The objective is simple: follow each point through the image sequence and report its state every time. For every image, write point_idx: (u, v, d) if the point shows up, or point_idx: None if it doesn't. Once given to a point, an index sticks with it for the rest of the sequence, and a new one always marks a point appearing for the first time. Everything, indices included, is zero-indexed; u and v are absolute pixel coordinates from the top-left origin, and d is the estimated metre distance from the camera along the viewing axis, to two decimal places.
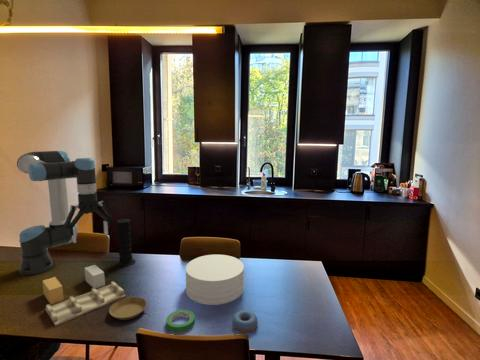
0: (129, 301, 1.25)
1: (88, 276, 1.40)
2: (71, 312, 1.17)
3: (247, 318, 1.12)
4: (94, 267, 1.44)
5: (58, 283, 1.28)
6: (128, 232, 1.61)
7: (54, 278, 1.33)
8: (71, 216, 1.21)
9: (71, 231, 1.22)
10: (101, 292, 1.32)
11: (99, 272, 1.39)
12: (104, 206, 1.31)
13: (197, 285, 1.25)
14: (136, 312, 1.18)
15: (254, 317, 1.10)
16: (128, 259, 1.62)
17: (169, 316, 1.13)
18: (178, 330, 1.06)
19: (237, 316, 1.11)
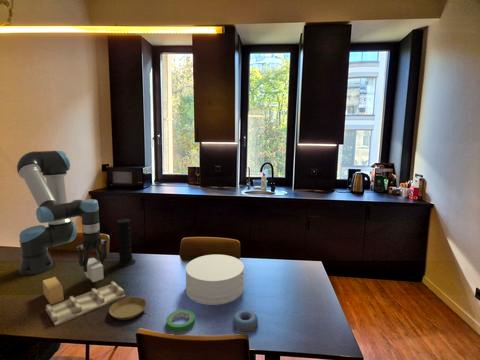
0: (129, 301, 1.25)
1: None
2: (71, 312, 1.17)
3: (247, 317, 1.13)
4: (93, 260, 1.44)
5: (58, 283, 1.28)
6: (128, 232, 1.61)
7: (54, 278, 1.33)
8: (81, 255, 1.35)
9: (85, 268, 1.38)
10: (101, 292, 1.32)
11: (98, 265, 1.39)
12: (104, 245, 1.43)
13: (197, 285, 1.25)
14: (136, 312, 1.18)
15: (254, 316, 1.11)
16: (128, 259, 1.62)
17: (169, 316, 1.13)
18: (178, 330, 1.06)
19: (237, 316, 1.11)
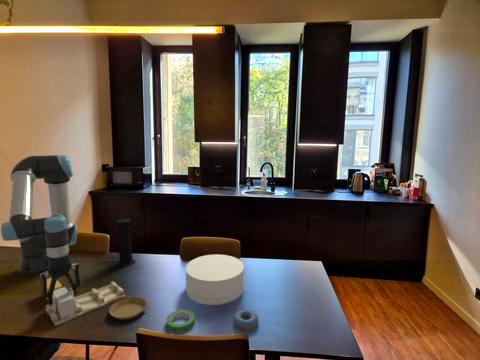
0: (129, 301, 1.25)
1: (55, 302, 1.17)
2: None
3: (248, 317, 1.13)
4: (63, 290, 1.20)
5: (58, 283, 1.28)
6: (128, 232, 1.61)
7: None
8: (45, 285, 1.11)
9: (50, 300, 1.14)
10: (101, 292, 1.32)
11: (68, 298, 1.15)
12: (76, 270, 1.19)
13: (197, 285, 1.25)
14: (136, 312, 1.18)
15: (255, 316, 1.11)
16: (128, 259, 1.62)
17: (169, 316, 1.13)
18: (178, 330, 1.06)
19: (238, 315, 1.11)
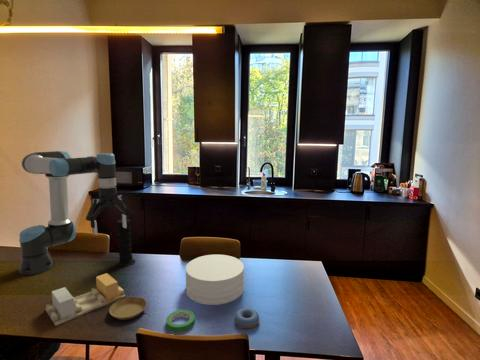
0: (128, 301, 1.25)
1: (55, 302, 1.17)
2: None
3: (249, 315, 1.14)
4: (63, 290, 1.20)
5: (112, 279, 1.30)
6: (128, 232, 1.61)
7: (107, 274, 1.35)
8: (93, 209, 1.26)
9: (93, 223, 1.27)
10: None
11: (68, 298, 1.15)
12: (123, 200, 1.36)
13: (197, 285, 1.25)
14: (136, 311, 1.19)
15: (256, 314, 1.12)
16: (128, 259, 1.62)
17: (169, 316, 1.13)
18: (178, 330, 1.06)
19: (239, 313, 1.12)
